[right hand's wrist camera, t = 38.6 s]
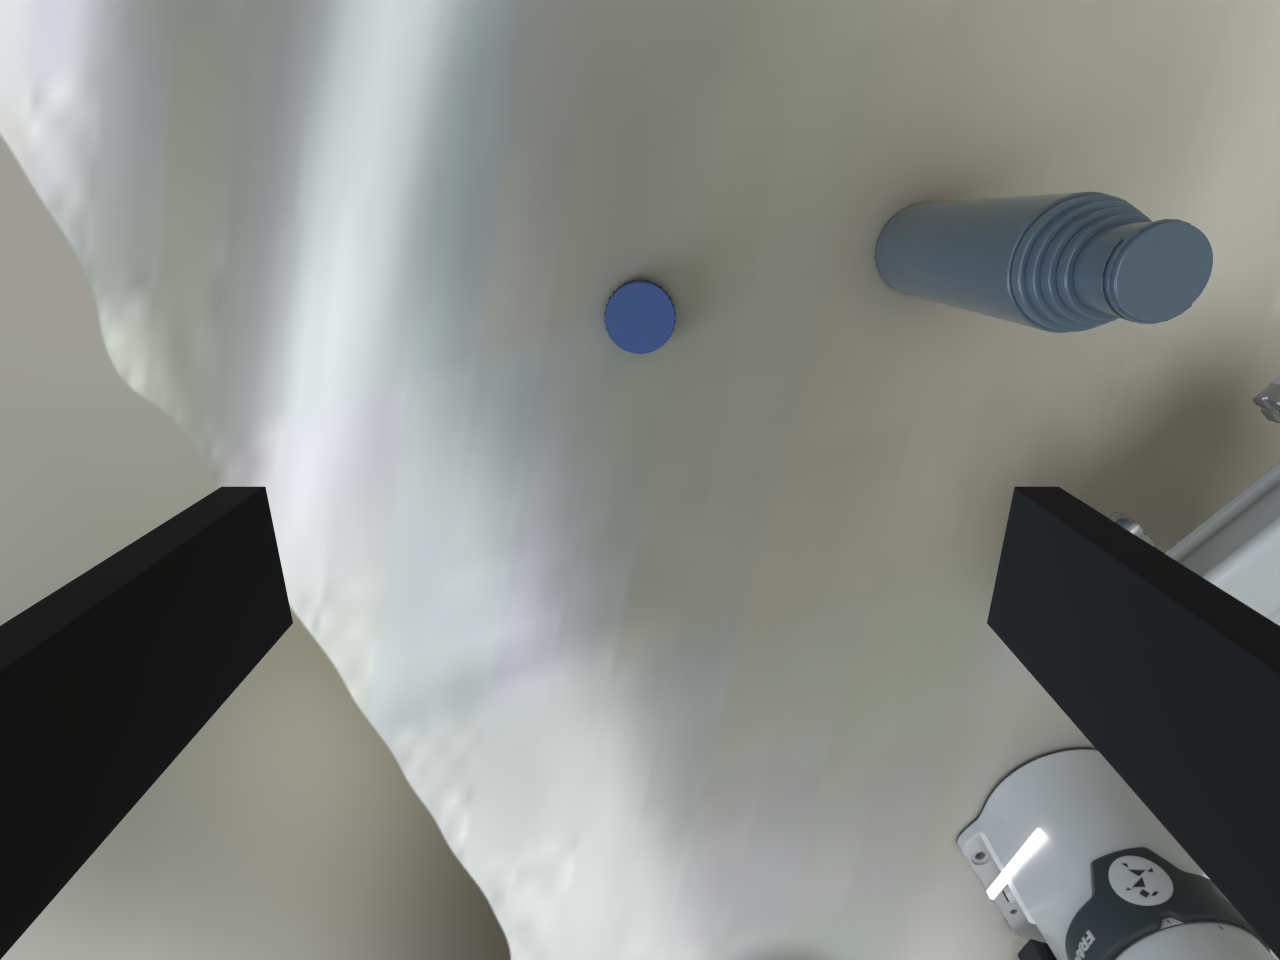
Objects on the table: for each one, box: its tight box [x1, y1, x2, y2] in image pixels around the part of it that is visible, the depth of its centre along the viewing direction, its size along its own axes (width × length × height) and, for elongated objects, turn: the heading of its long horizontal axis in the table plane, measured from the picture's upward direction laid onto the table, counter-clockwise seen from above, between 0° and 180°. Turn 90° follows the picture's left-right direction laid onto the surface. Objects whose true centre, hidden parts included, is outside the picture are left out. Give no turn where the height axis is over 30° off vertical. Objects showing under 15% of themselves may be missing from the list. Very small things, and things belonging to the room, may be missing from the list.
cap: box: [604, 279, 676, 354], centre depth 45 cm, size 5×5×2 cm
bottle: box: [875, 192, 1213, 333], centre depth 34 cm, size 6×6×22 cm
